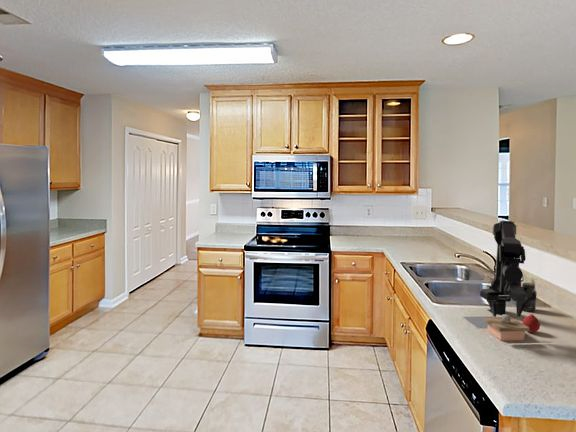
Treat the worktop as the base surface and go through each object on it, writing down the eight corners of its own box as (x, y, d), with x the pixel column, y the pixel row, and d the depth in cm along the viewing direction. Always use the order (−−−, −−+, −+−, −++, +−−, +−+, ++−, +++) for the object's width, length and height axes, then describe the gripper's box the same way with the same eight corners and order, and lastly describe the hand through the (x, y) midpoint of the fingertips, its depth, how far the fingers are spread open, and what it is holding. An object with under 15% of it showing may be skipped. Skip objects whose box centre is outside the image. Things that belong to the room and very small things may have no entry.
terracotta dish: (487, 332, 162) (487, 321, 161) (509, 332, 163) (510, 321, 162) (500, 342, 153) (501, 330, 153) (524, 341, 154) (524, 329, 153)
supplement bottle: (515, 306, 193) (517, 281, 192) (531, 307, 192) (533, 282, 191) (521, 311, 186) (523, 285, 185) (538, 312, 185) (540, 286, 184)
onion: (533, 330, 165) (534, 310, 164) (542, 336, 159) (544, 315, 158) (518, 330, 164) (520, 310, 164) (527, 336, 159) (529, 316, 158)
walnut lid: (483, 320, 162) (484, 311, 162) (511, 320, 163) (511, 310, 163) (500, 331, 152) (500, 321, 151) (529, 330, 152) (529, 320, 152)
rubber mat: (462, 318, 178) (462, 316, 178) (492, 317, 179) (492, 316, 178) (478, 329, 165) (478, 328, 165) (510, 329, 166) (510, 327, 166)
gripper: (497, 281, 147) (494, 324, 148) (548, 281, 148) (544, 324, 150) (480, 273, 158) (478, 314, 159) (528, 273, 159) (525, 313, 161)
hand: (506, 316), depth 157 cm, fingers open, 9 cm apart
